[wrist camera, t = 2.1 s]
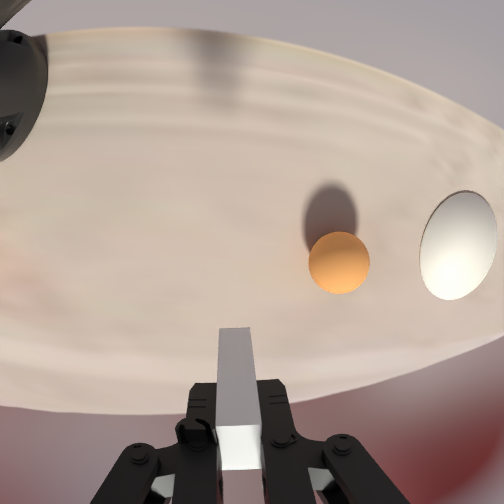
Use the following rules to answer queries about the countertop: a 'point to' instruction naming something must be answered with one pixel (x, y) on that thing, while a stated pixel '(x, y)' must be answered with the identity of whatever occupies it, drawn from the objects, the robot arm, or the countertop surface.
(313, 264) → the ball
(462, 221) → the white plate
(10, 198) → the countertop surface
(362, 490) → the robot arm
